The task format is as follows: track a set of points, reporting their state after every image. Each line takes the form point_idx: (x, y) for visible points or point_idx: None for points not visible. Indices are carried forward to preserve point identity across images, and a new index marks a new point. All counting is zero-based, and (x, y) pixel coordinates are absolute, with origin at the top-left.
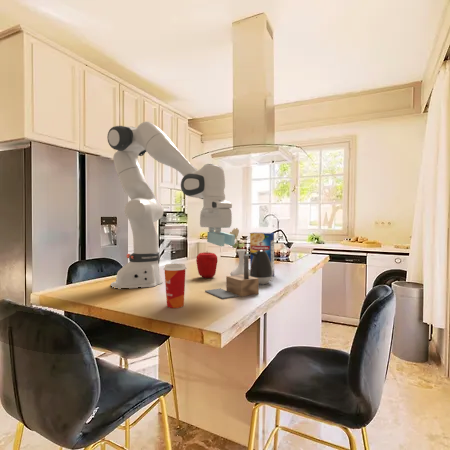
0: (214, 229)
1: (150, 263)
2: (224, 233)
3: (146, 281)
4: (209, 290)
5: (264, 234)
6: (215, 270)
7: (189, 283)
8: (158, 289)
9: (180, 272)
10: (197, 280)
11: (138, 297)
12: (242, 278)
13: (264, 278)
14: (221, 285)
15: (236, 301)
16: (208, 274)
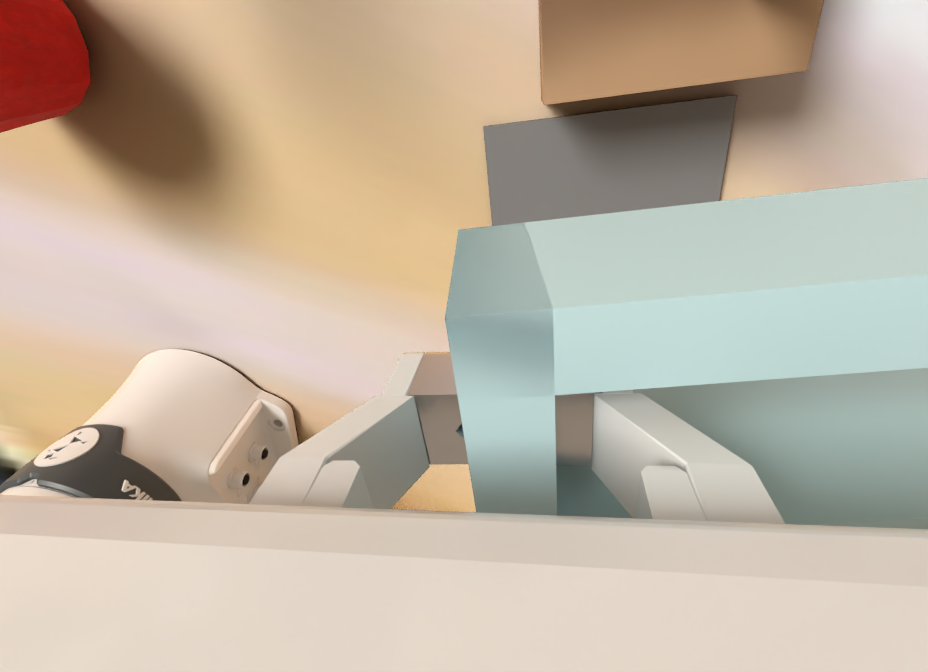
0: (360, 475)
1: (190, 489)
2: (854, 368)
3: (260, 438)
4: (505, 216)
5: None
6: None
7: (244, 235)
8: (349, 402)
9: None
10: (155, 154)
11: (460, 485)
12: (732, 3)
13: None
14: (360, 53)
15: (818, 168)
16: (82, 53)
